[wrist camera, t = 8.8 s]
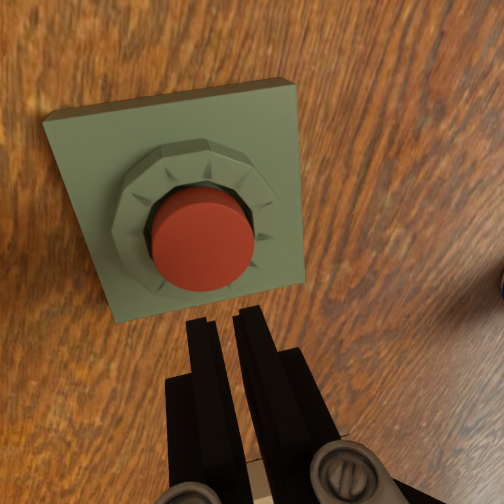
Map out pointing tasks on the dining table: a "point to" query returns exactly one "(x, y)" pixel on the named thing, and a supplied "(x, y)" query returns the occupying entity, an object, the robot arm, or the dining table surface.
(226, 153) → the button block
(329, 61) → the dining table surface
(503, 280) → the beverage can
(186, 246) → the button
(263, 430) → the robot arm
